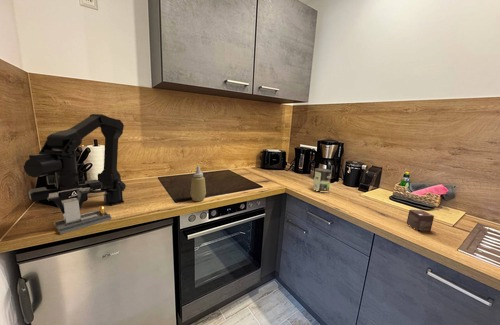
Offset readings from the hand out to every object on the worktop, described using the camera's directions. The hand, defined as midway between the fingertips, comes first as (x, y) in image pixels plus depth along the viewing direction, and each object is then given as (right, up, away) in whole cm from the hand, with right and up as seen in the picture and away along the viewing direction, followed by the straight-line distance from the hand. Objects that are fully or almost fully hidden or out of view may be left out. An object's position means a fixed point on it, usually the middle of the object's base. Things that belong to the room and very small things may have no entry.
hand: (71, 211), depth 72 cm
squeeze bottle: (+38, -2, +32) cm, 50 cm away
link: (+1, -4, +3) cm, 5 cm away
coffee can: (+113, -1, +59) cm, 127 cm away
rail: (+2, -5, +4) cm, 6 cm away
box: (+139, -11, +14) cm, 140 cm away
